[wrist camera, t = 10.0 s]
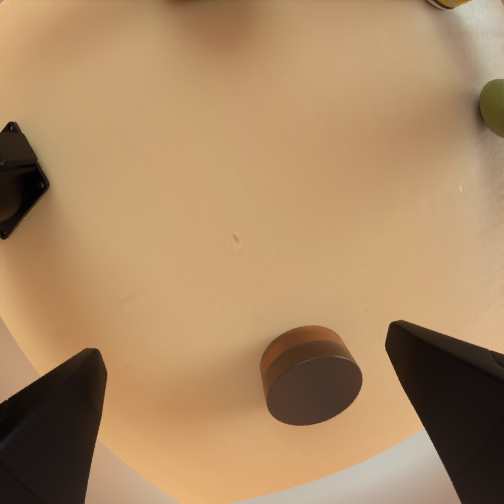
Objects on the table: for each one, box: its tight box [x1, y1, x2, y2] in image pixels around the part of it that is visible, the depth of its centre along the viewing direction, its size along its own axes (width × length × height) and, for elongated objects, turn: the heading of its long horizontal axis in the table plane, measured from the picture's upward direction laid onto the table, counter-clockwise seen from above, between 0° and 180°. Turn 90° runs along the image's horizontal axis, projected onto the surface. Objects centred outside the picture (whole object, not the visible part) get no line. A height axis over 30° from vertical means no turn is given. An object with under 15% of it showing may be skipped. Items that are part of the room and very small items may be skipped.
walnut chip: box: [263, 340, 362, 426], centre depth 19 cm, size 7×7×2 cm
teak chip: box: [260, 326, 349, 381], centre depth 21 cm, size 7×7×2 cm
